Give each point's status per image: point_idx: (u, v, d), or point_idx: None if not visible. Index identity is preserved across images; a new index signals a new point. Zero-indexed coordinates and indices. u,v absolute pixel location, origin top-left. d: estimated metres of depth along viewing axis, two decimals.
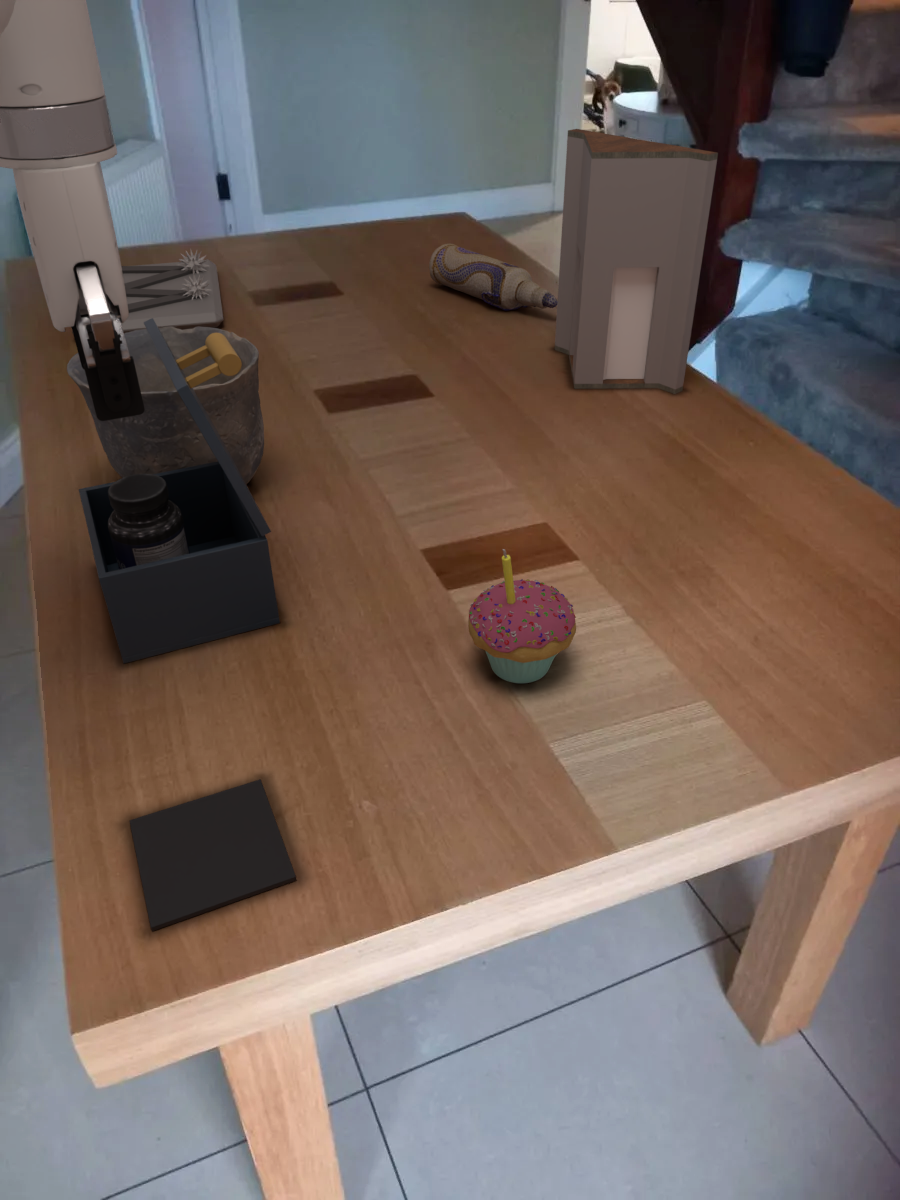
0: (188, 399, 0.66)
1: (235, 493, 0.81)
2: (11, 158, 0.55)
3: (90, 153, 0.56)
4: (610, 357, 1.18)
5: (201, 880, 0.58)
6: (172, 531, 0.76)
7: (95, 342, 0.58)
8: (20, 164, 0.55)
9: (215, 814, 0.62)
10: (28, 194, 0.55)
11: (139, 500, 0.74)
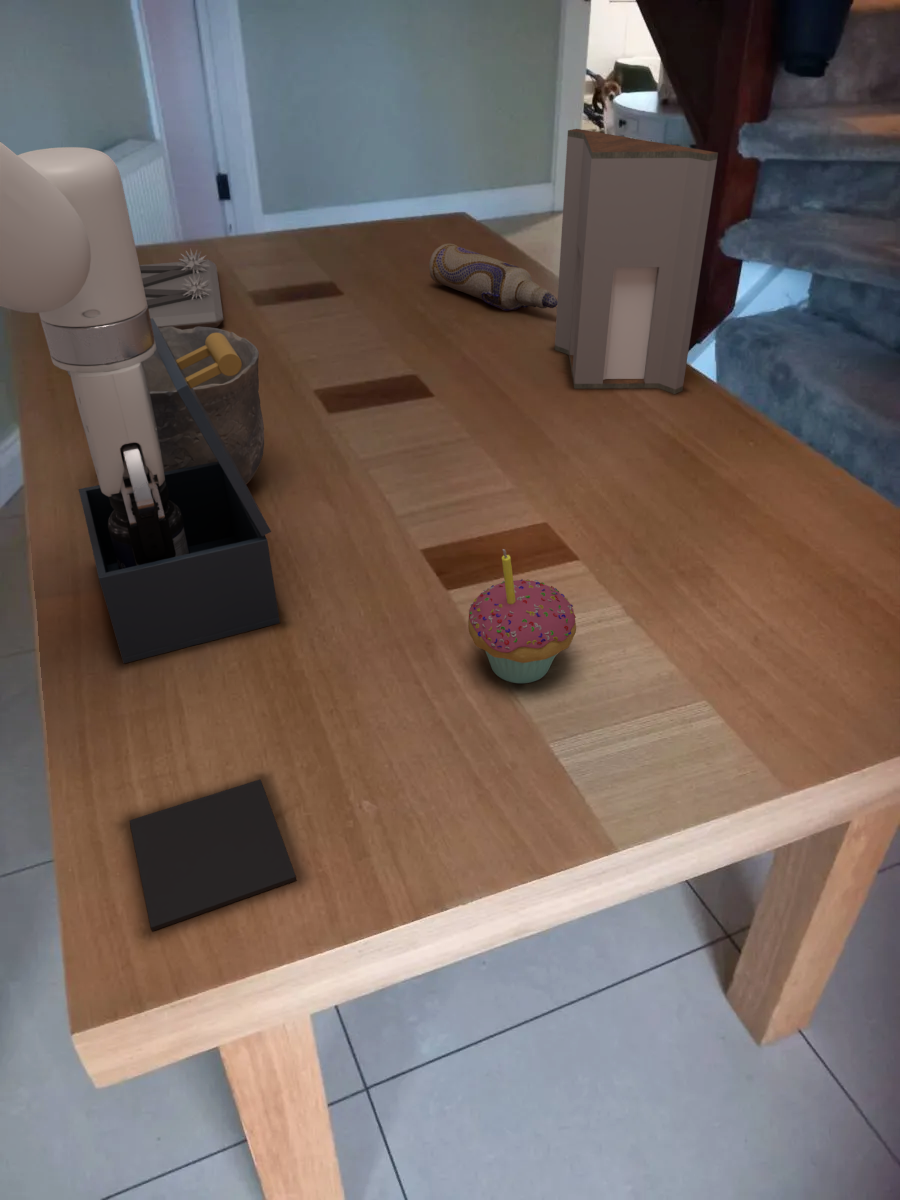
0: (188, 399, 0.66)
1: (235, 493, 0.81)
2: (69, 363, 0.66)
3: (135, 356, 0.67)
4: (610, 357, 1.18)
5: (201, 880, 0.58)
6: (172, 530, 0.76)
7: (137, 511, 0.70)
8: (77, 369, 0.66)
9: (215, 814, 0.62)
10: (83, 393, 0.66)
11: None
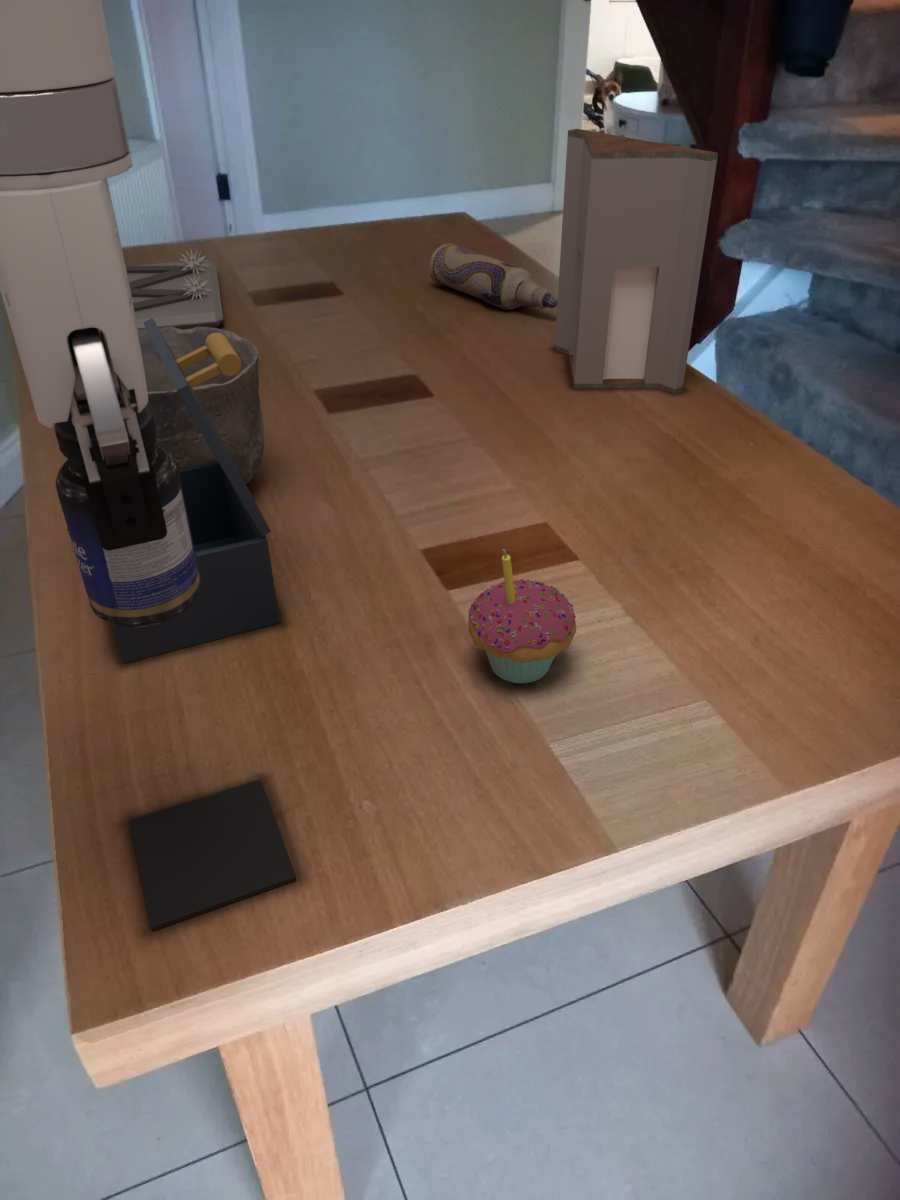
0: (188, 399, 0.66)
1: (235, 493, 0.81)
2: None
3: (93, 165, 0.37)
4: (610, 357, 1.18)
5: (201, 880, 0.58)
6: (163, 493, 0.46)
7: (100, 453, 0.40)
8: None
9: (215, 814, 0.62)
10: None
11: None
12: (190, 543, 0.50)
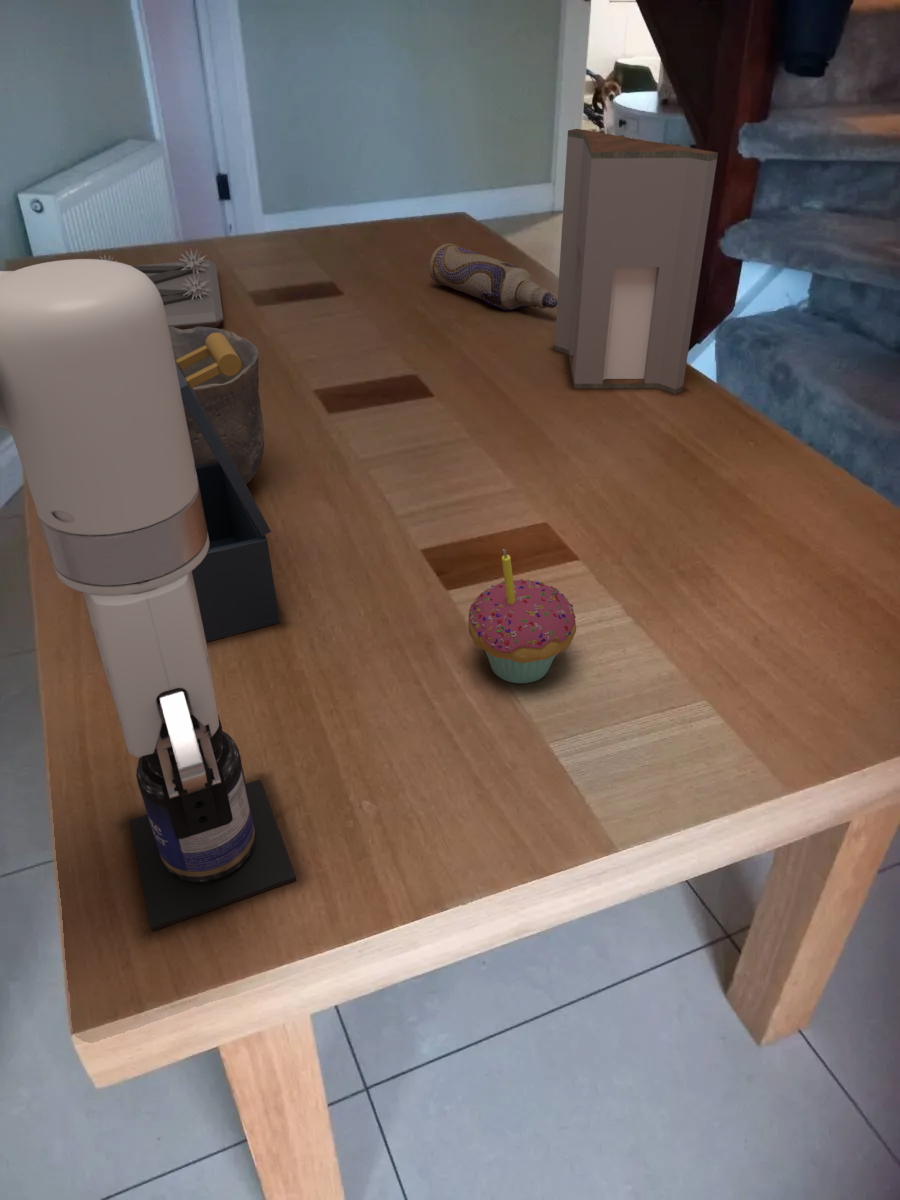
0: (188, 399, 0.66)
1: (235, 493, 0.81)
2: (82, 582, 0.43)
3: (181, 566, 0.44)
4: (610, 357, 1.18)
5: None
6: (228, 784, 0.54)
7: (182, 788, 0.46)
8: (93, 590, 0.43)
9: None
10: (103, 628, 0.43)
11: None
12: (248, 808, 0.58)
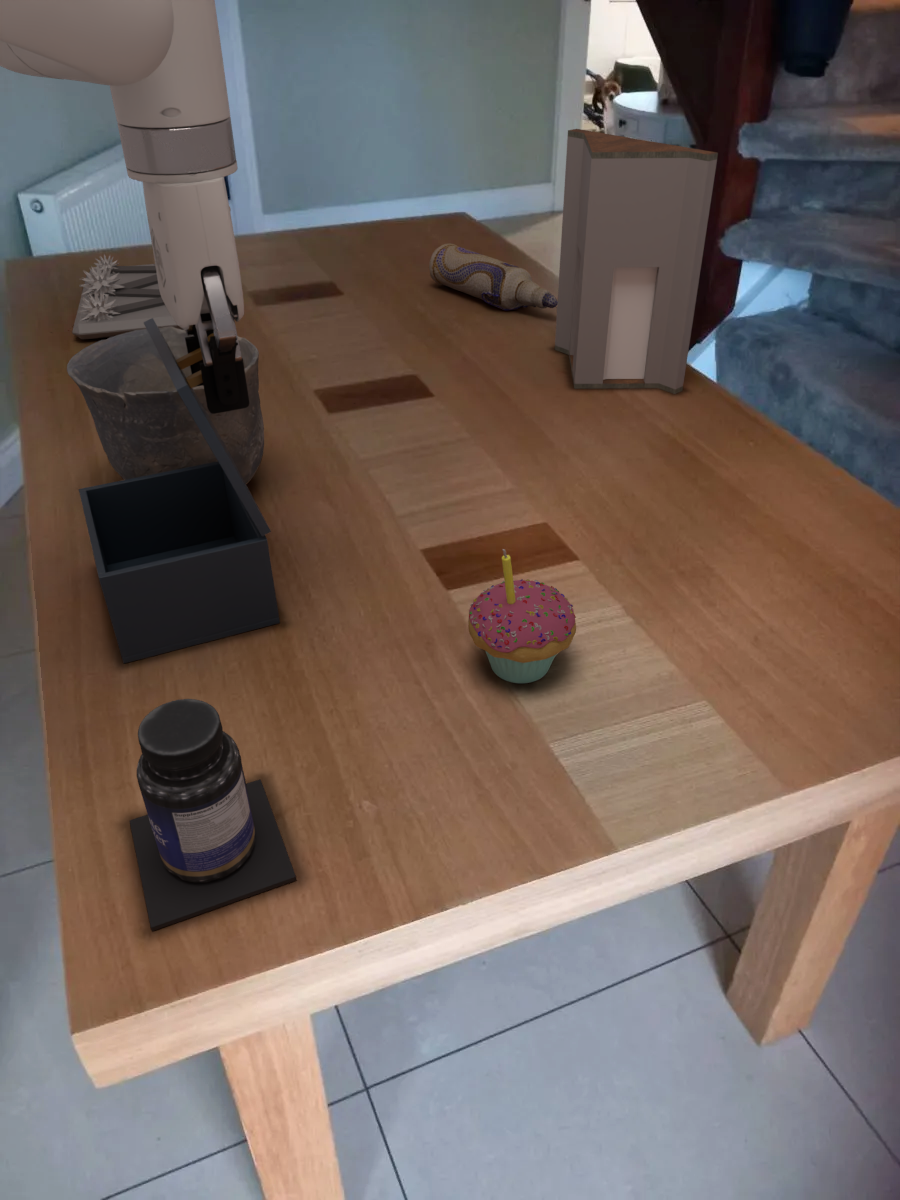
0: (188, 399, 0.66)
1: (235, 493, 0.81)
2: (149, 173, 0.61)
3: (218, 168, 0.62)
4: (610, 357, 1.18)
5: None
6: (228, 784, 0.54)
7: (216, 344, 0.66)
8: (157, 179, 0.61)
9: None
10: (164, 205, 0.61)
11: (183, 753, 0.52)
12: (248, 809, 0.58)
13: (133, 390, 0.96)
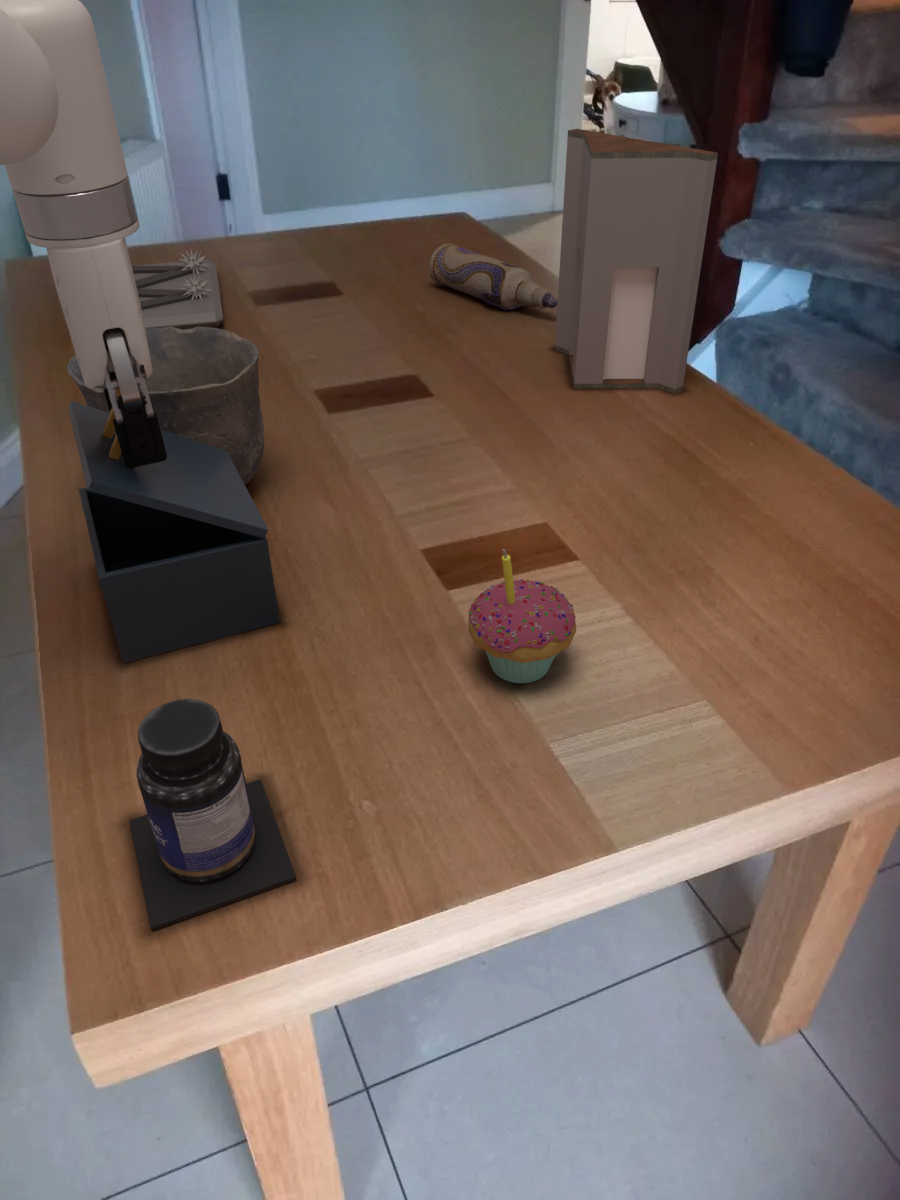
0: (103, 489, 0.67)
1: None
2: (45, 238, 0.61)
3: (115, 231, 0.62)
4: (610, 357, 1.18)
5: None
6: (228, 784, 0.54)
7: (123, 404, 0.66)
8: (53, 244, 0.61)
9: None
10: (60, 271, 0.61)
11: (183, 753, 0.52)
12: (248, 809, 0.58)
13: None
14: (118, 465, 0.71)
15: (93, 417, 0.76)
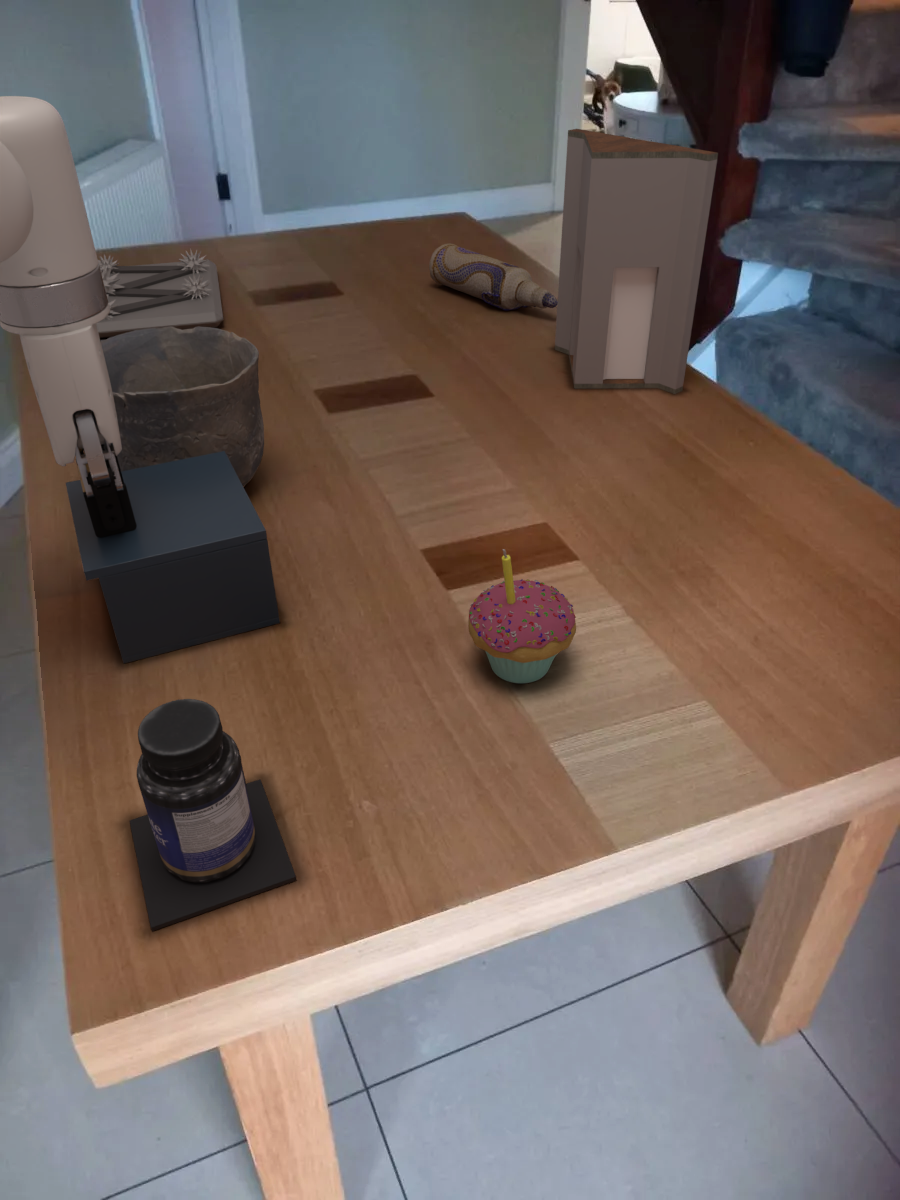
0: (98, 573, 0.70)
1: None
2: (17, 326, 0.63)
3: (86, 318, 0.64)
4: (610, 357, 1.18)
5: None
6: (228, 784, 0.54)
7: (93, 480, 0.68)
8: (24, 331, 0.63)
9: None
10: (31, 357, 0.63)
11: (183, 753, 0.52)
12: (248, 809, 0.58)
13: (133, 390, 0.96)
14: (110, 536, 0.73)
15: None
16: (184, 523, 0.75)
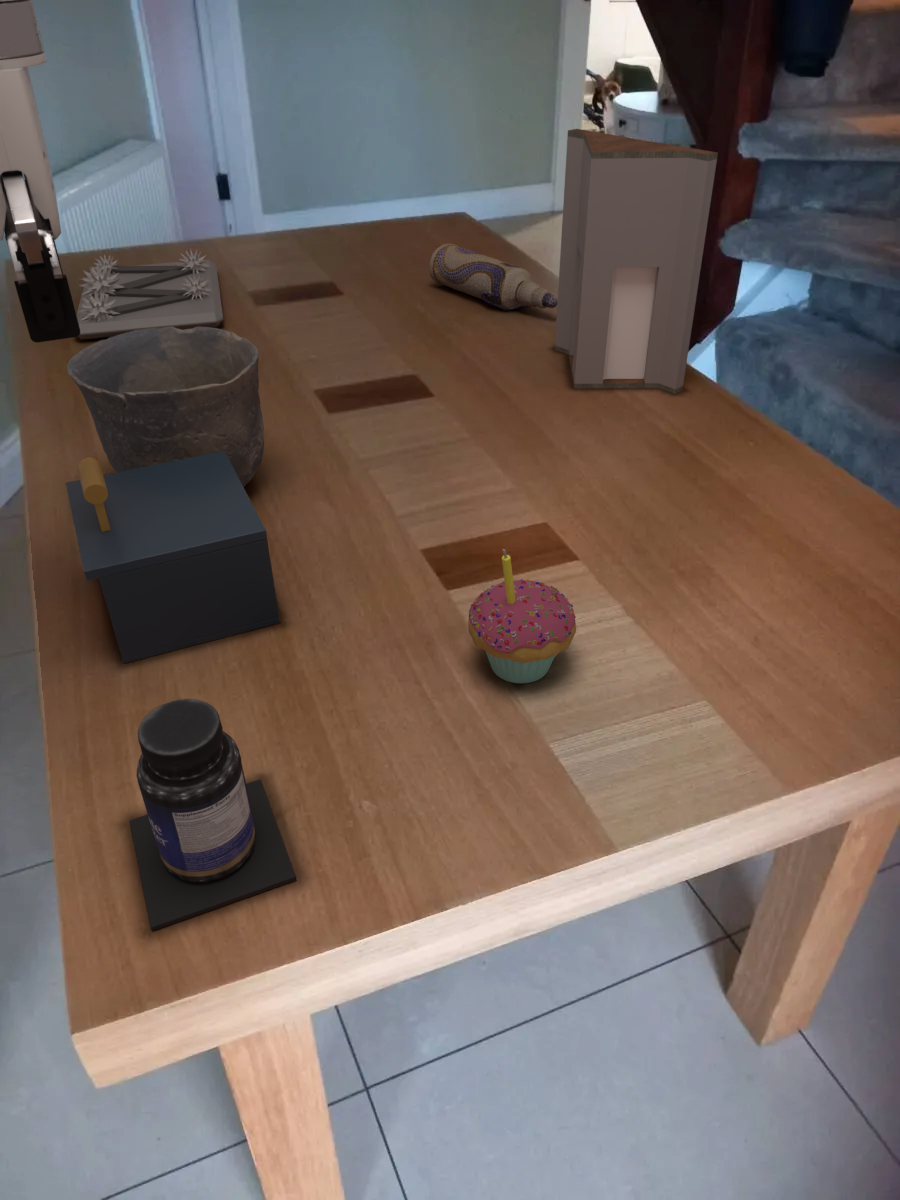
0: (98, 573, 0.70)
1: None
2: None
3: (15, 57, 0.55)
4: (610, 357, 1.18)
5: None
6: (228, 784, 0.54)
7: (22, 254, 0.56)
8: None
9: None
10: None
11: (183, 753, 0.52)
12: (248, 809, 0.58)
13: (133, 390, 0.96)
14: (110, 536, 0.73)
15: None
16: (184, 523, 0.75)
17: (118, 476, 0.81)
